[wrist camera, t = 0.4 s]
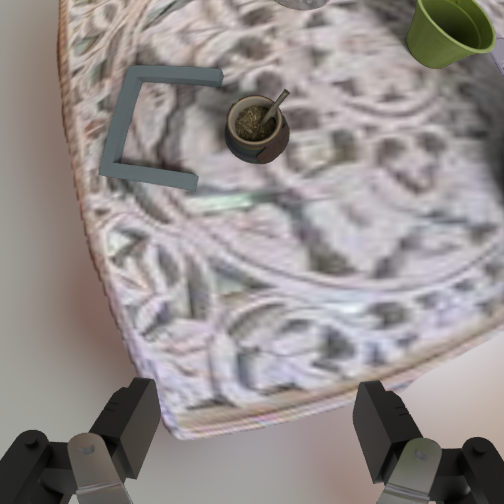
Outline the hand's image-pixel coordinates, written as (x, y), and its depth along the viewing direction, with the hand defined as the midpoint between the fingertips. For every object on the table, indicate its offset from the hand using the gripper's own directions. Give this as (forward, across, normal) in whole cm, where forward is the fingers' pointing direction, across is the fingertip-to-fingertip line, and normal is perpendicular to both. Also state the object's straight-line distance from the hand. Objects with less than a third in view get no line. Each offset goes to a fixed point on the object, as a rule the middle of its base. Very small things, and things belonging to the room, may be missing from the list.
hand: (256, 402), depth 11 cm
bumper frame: (+30, +12, -16) cm, 36 cm away
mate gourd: (+29, 0, -14) cm, 32 cm away
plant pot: (+30, -25, -30) cm, 49 cm away
